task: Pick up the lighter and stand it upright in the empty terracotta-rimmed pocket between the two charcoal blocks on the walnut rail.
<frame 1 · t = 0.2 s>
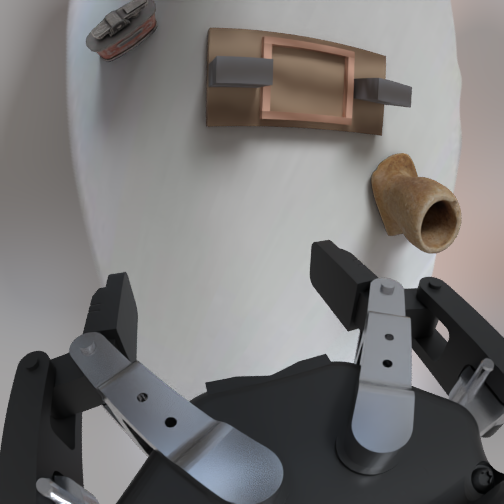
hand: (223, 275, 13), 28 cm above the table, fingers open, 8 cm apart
lighter: (128, 38, 28), on the table
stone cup: (389, 196, 48), on the table
rail: (303, 82, 36), on the table
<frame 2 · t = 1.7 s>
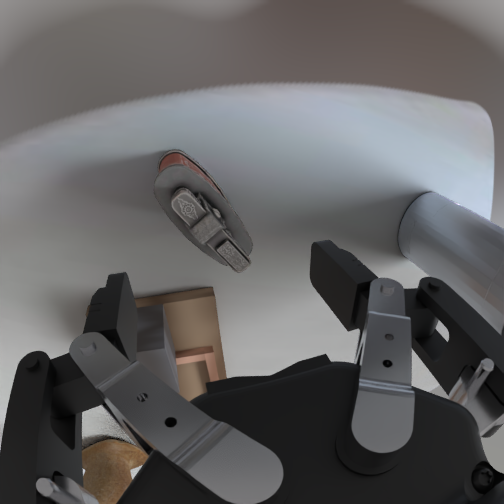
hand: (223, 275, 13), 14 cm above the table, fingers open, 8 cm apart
lighter: (195, 187, 25), on the table
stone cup: (105, 448, 40), on the table
rail: (173, 380, 35), on the table
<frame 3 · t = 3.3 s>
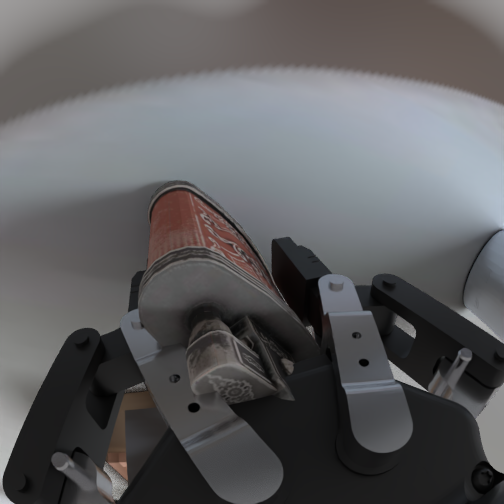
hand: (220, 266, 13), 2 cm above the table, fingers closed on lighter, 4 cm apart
lighter: (213, 246, 15), on the table, touching gripper
rail: (183, 461, 25), on the table
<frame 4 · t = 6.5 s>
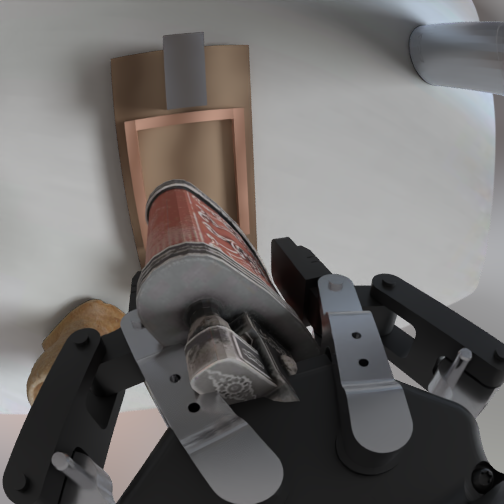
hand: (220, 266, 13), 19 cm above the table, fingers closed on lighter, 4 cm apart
lighter: (210, 245, 15), point 17 cm above the table, touching gripper
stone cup: (85, 331, 35), on the table
rail: (188, 174, 30), on the table
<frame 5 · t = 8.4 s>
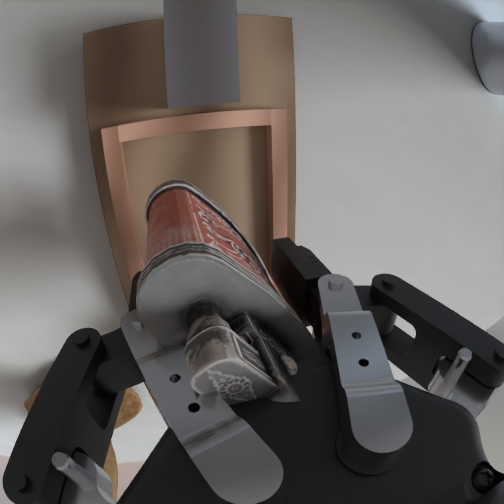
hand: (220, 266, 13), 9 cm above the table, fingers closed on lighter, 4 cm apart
lighter: (210, 245, 15), point 7 cm above the table, touching gripper
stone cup: (73, 391, 26), on the table
rail: (200, 206, 21), on the table
when the fingers open (5 cm above the table, at t = 9.7 s): lighter drops 1 cm, resting on rail.
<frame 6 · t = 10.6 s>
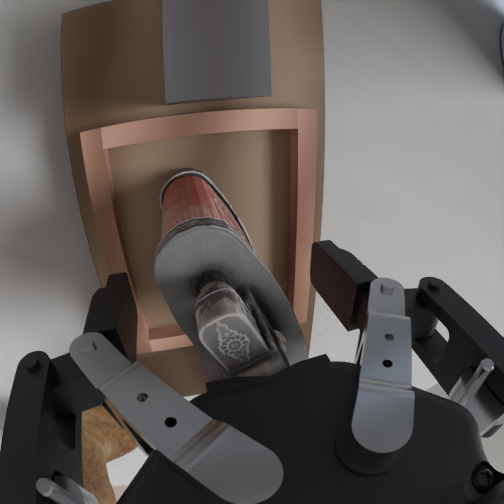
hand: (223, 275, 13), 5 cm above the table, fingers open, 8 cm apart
lighter: (212, 234, 16), point 1 cm above the table, touching rail
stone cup: (66, 421, 22), on the table
rail: (205, 226, 17), on the table
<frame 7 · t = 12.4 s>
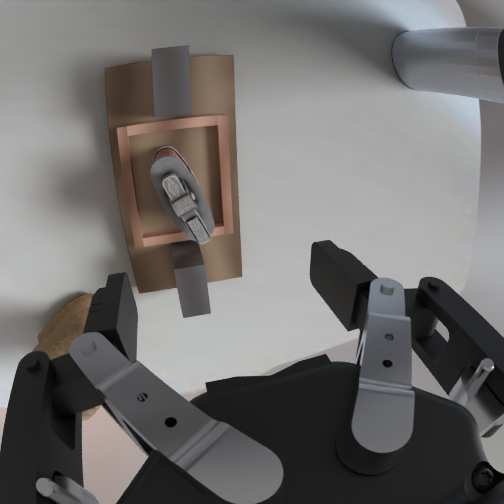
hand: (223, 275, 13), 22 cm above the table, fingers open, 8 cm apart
lighter: (178, 179, 31), point 1 cm above the table, touching rail
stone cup: (78, 325, 37), on the table
rail: (176, 177, 32), on the table
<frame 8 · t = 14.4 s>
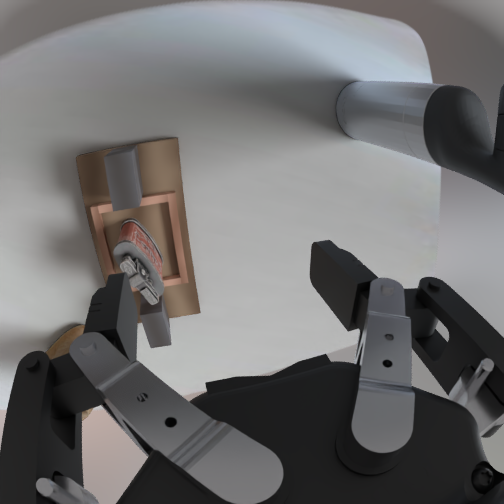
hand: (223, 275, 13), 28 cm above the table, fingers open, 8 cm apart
lighter: (142, 242, 39), point 1 cm above the table, touching rail
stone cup: (75, 346, 45), on the table
rail: (141, 239, 40), on the table
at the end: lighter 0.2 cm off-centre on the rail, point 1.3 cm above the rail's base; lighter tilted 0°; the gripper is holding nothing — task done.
